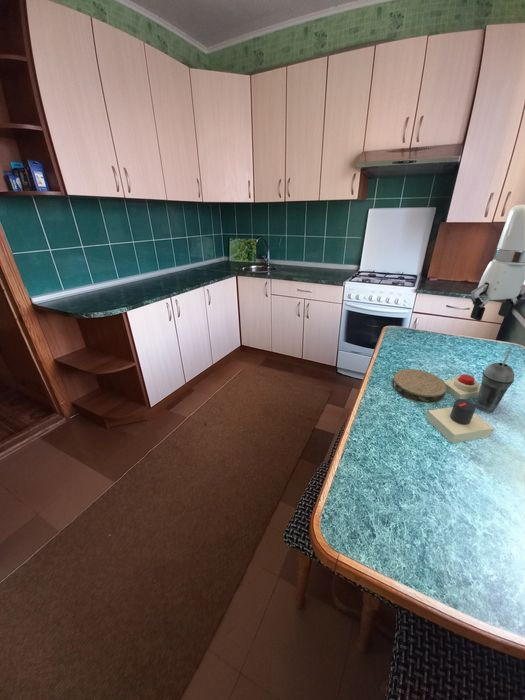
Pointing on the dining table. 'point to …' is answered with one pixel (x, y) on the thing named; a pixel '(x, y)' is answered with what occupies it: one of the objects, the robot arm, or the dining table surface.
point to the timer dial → (462, 411)
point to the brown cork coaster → (419, 385)
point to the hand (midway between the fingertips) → (489, 317)
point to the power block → (462, 389)
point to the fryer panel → (458, 426)
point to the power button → (466, 379)
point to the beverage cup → (494, 385)
